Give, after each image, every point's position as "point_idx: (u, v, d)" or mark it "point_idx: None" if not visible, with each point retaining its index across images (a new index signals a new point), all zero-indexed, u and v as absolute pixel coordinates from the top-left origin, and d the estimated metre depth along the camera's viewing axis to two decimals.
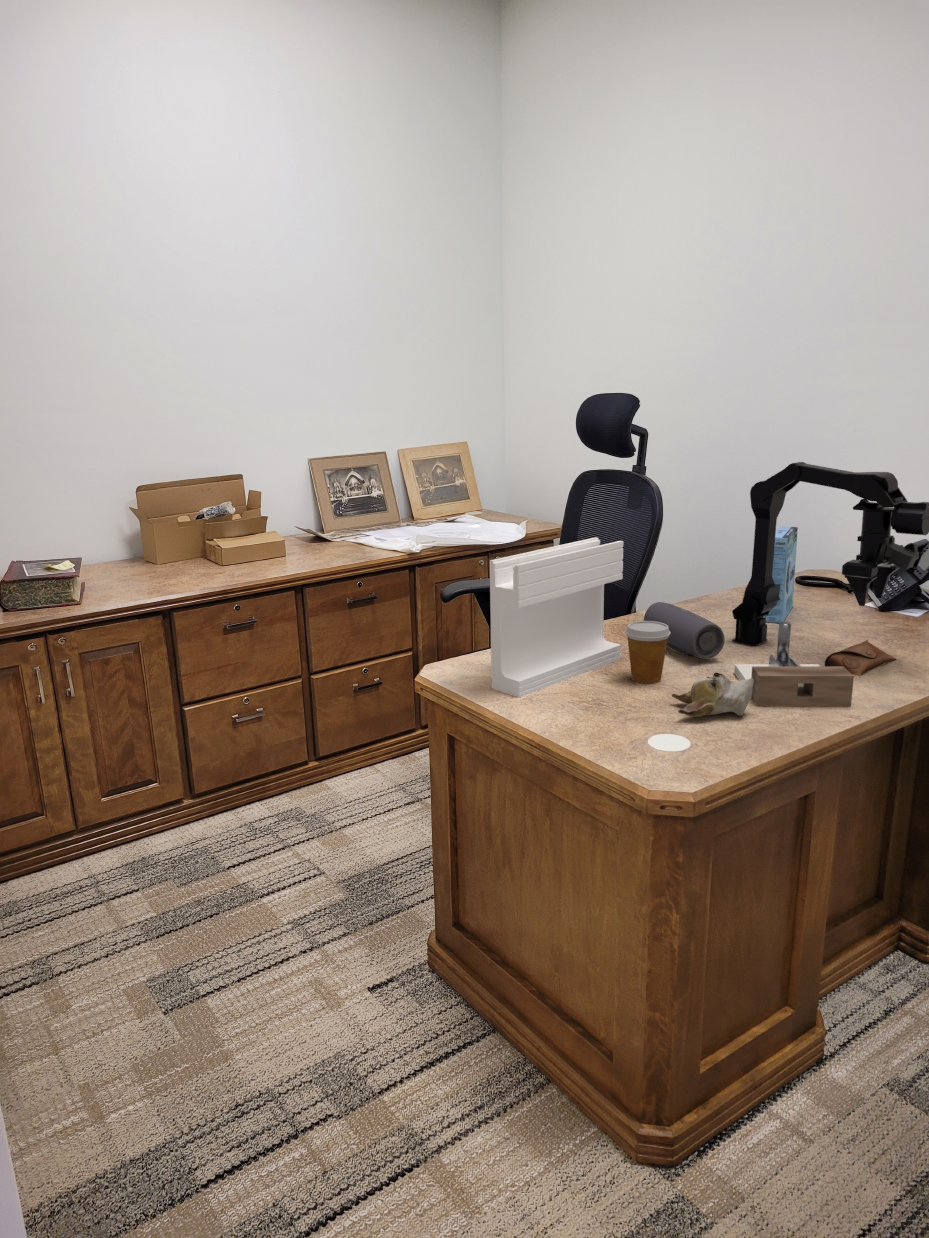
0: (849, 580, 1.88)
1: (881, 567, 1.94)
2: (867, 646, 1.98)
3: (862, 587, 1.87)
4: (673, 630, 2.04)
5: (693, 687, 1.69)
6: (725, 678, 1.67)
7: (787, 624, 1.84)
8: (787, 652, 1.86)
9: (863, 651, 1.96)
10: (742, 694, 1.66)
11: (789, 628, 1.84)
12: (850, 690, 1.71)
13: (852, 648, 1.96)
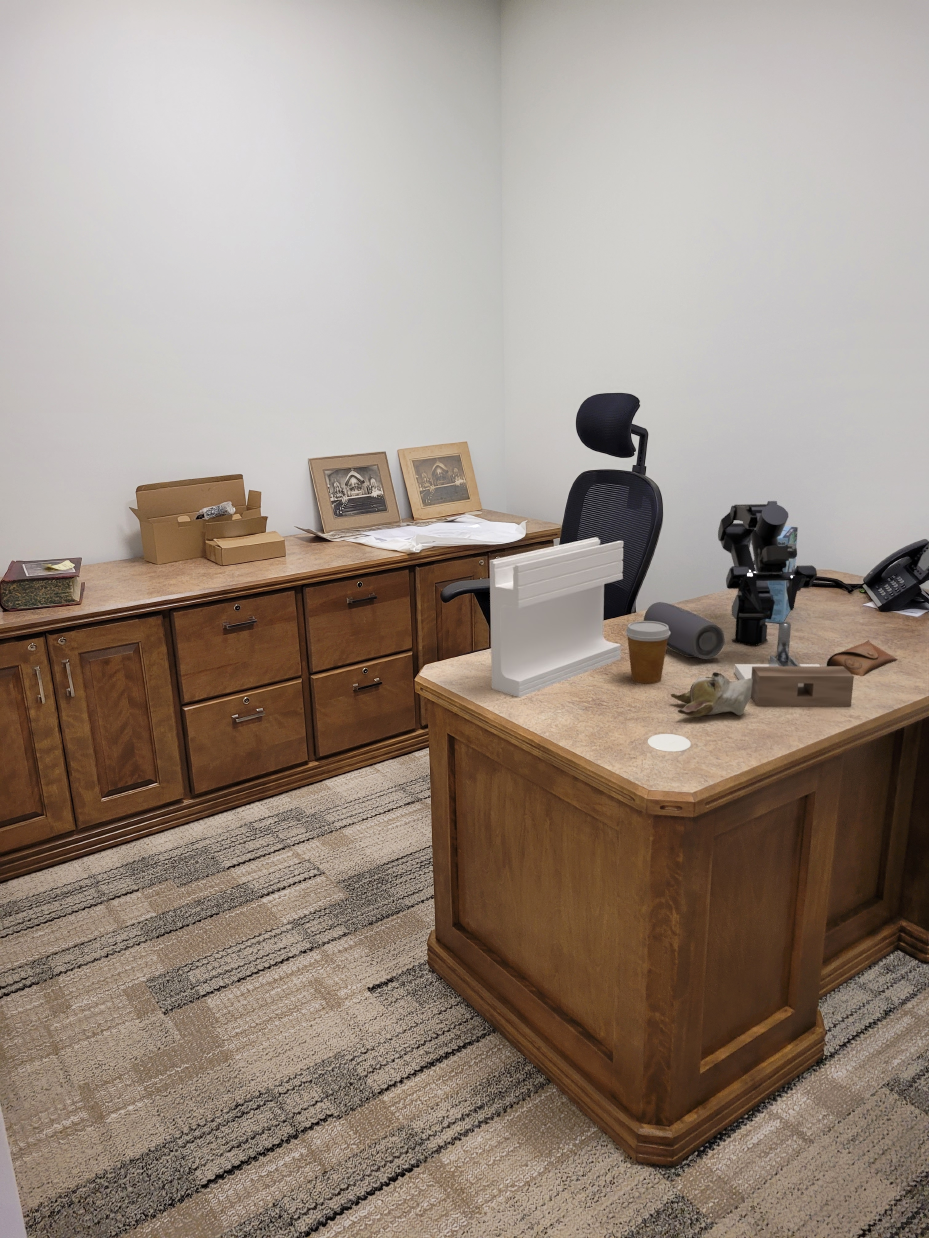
0: (745, 593, 1.97)
1: None
2: (869, 646, 1.98)
3: (752, 592, 1.94)
4: (673, 630, 2.04)
5: (692, 687, 1.69)
6: (724, 678, 1.67)
7: (787, 624, 1.84)
8: (787, 652, 1.86)
9: (865, 651, 1.95)
10: (742, 693, 1.66)
11: (789, 628, 1.84)
12: (850, 690, 1.71)
13: (854, 649, 1.96)
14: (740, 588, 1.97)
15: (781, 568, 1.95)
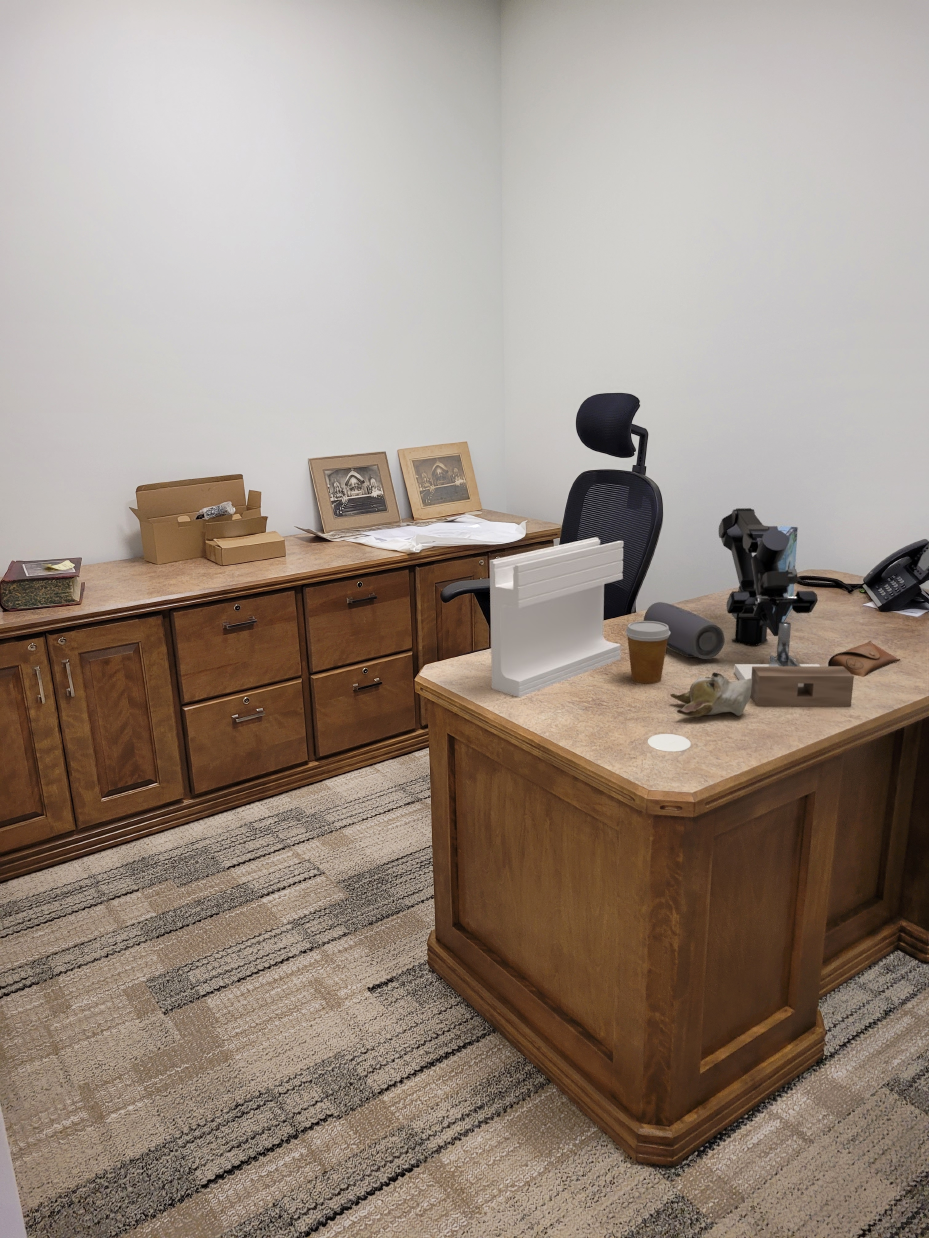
0: (760, 617, 1.97)
1: None
2: (871, 647, 1.97)
3: (767, 617, 1.94)
4: (673, 630, 2.04)
5: (692, 687, 1.69)
6: (724, 678, 1.67)
7: (787, 624, 1.84)
8: (787, 652, 1.86)
9: (867, 652, 1.95)
10: (741, 694, 1.66)
11: (789, 628, 1.84)
12: (850, 690, 1.71)
13: (856, 649, 1.96)
14: (755, 613, 1.96)
15: (782, 593, 1.94)
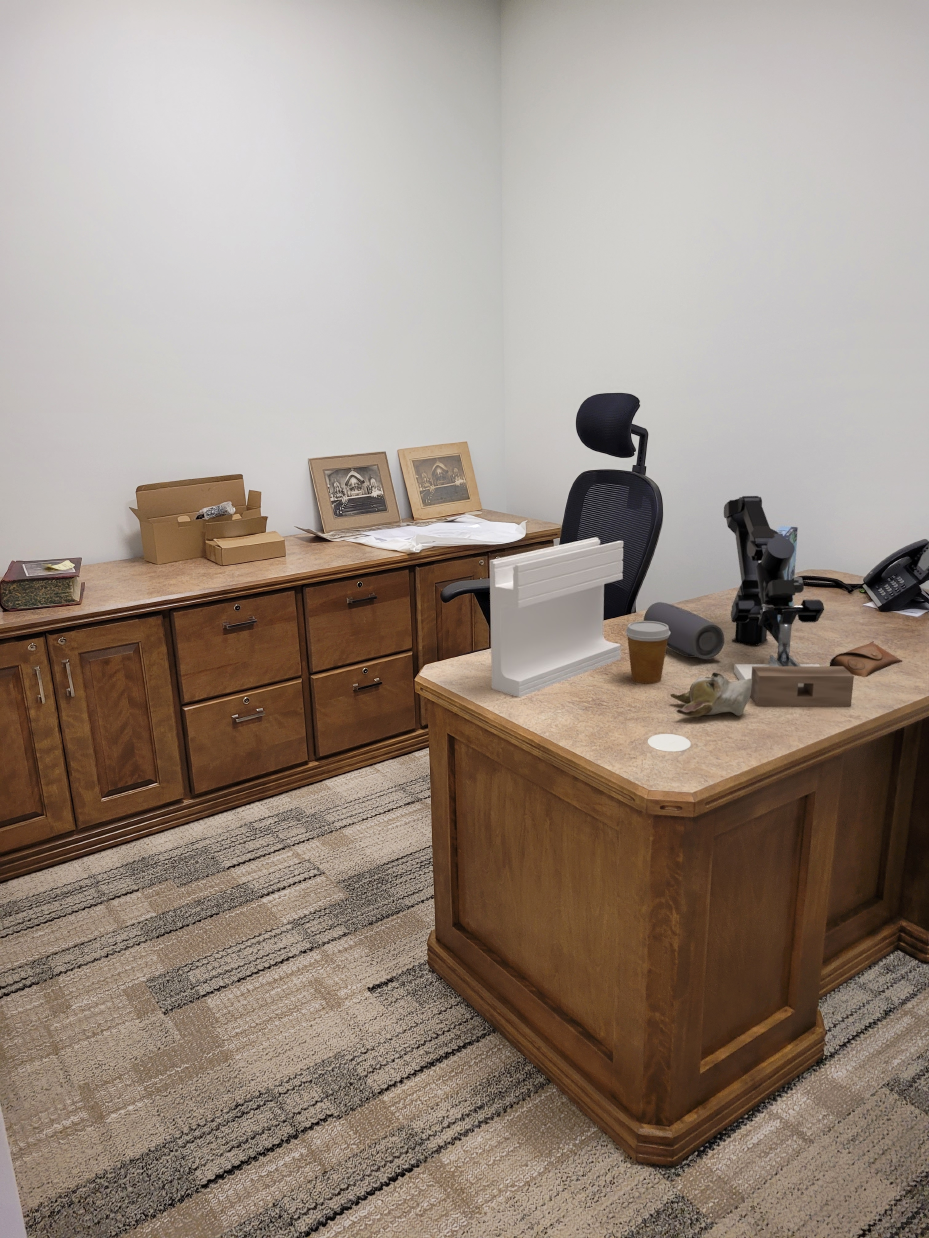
0: (765, 627, 1.92)
1: None
2: (873, 647, 1.97)
3: (773, 627, 1.89)
4: (673, 630, 2.04)
5: (691, 687, 1.69)
6: (723, 678, 1.67)
7: (788, 625, 1.84)
8: (788, 653, 1.85)
9: (869, 652, 1.95)
10: (741, 694, 1.66)
11: (790, 629, 1.84)
12: (850, 690, 1.71)
13: (858, 649, 1.95)
14: (760, 622, 1.92)
15: (787, 602, 1.90)
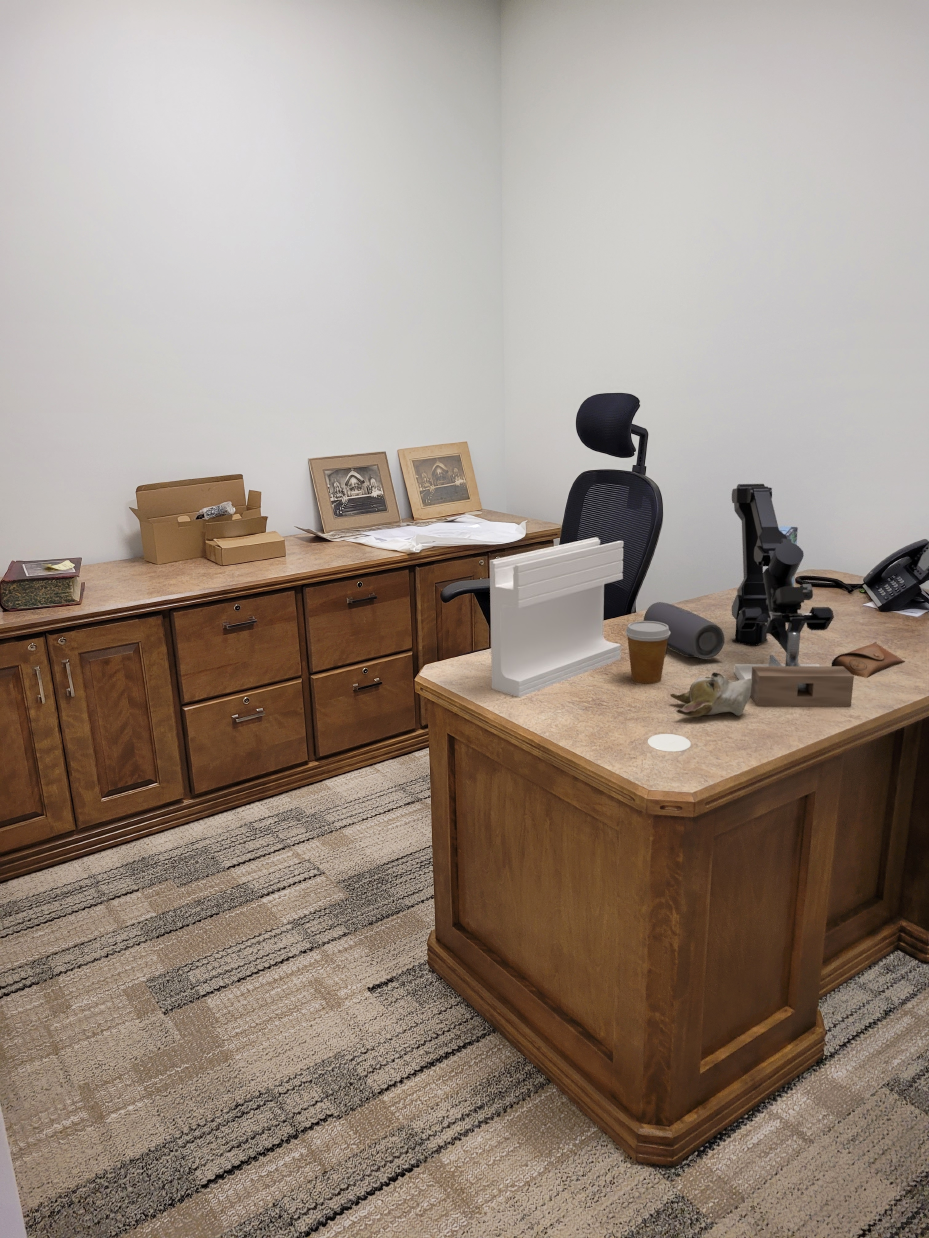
0: (773, 635, 1.86)
1: None
2: (875, 648, 1.97)
3: (781, 635, 1.83)
4: (673, 630, 2.04)
5: (691, 687, 1.69)
6: (723, 678, 1.67)
7: (796, 633, 1.78)
8: (796, 662, 1.79)
9: (871, 653, 1.94)
10: (741, 694, 1.66)
11: (798, 637, 1.78)
12: (850, 690, 1.71)
13: (860, 650, 1.95)
14: (768, 630, 1.86)
15: (796, 610, 1.84)
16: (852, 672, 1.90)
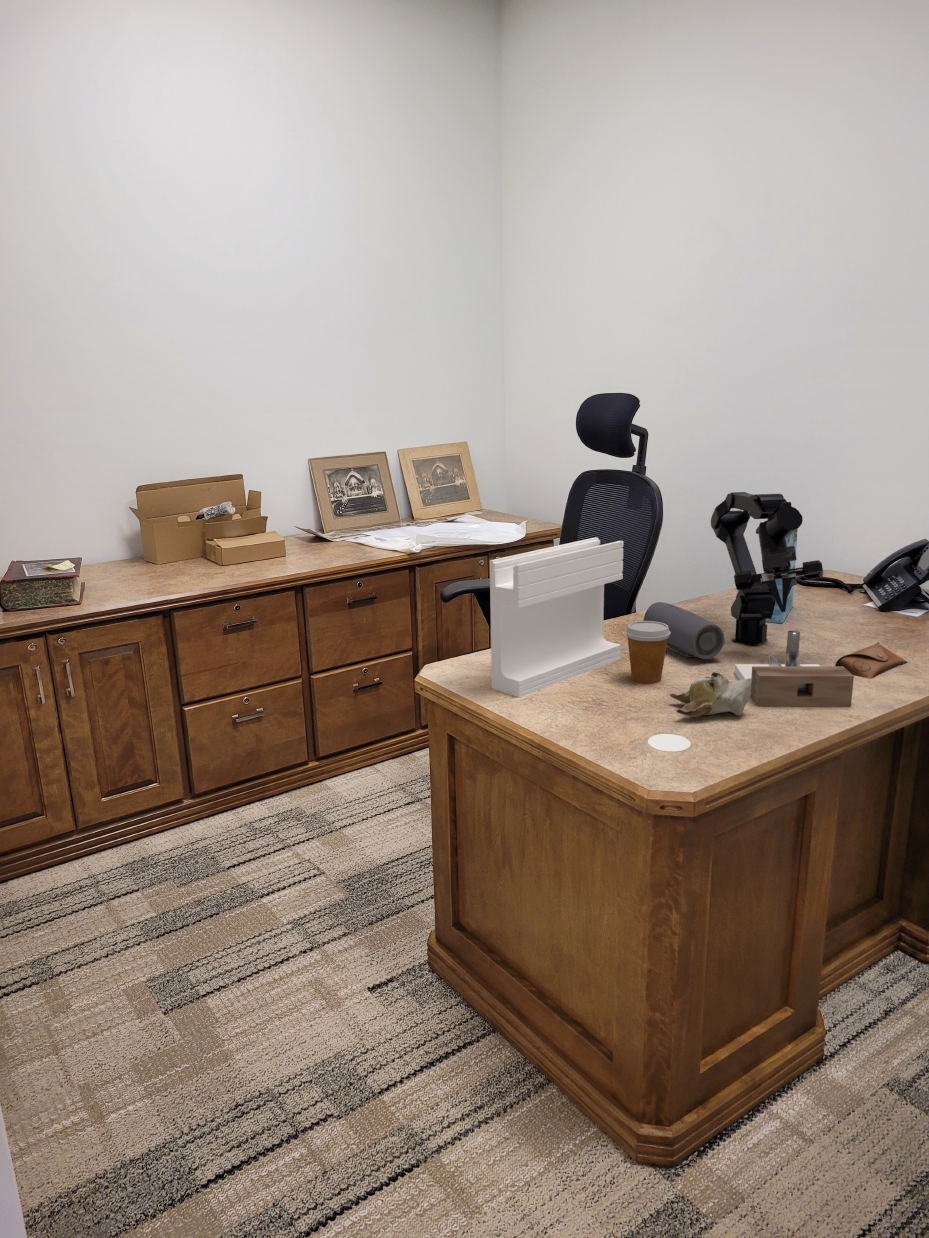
0: (770, 591, 1.99)
1: None
2: (879, 649, 1.96)
3: None
4: (673, 630, 2.04)
5: (691, 687, 1.69)
6: (723, 678, 1.67)
7: (796, 633, 1.78)
8: (796, 661, 1.79)
9: (875, 654, 1.94)
10: (740, 693, 1.66)
11: (798, 637, 1.78)
12: (850, 690, 1.71)
13: (863, 651, 1.94)
14: (764, 588, 1.99)
15: (786, 567, 1.95)
16: (856, 673, 1.89)
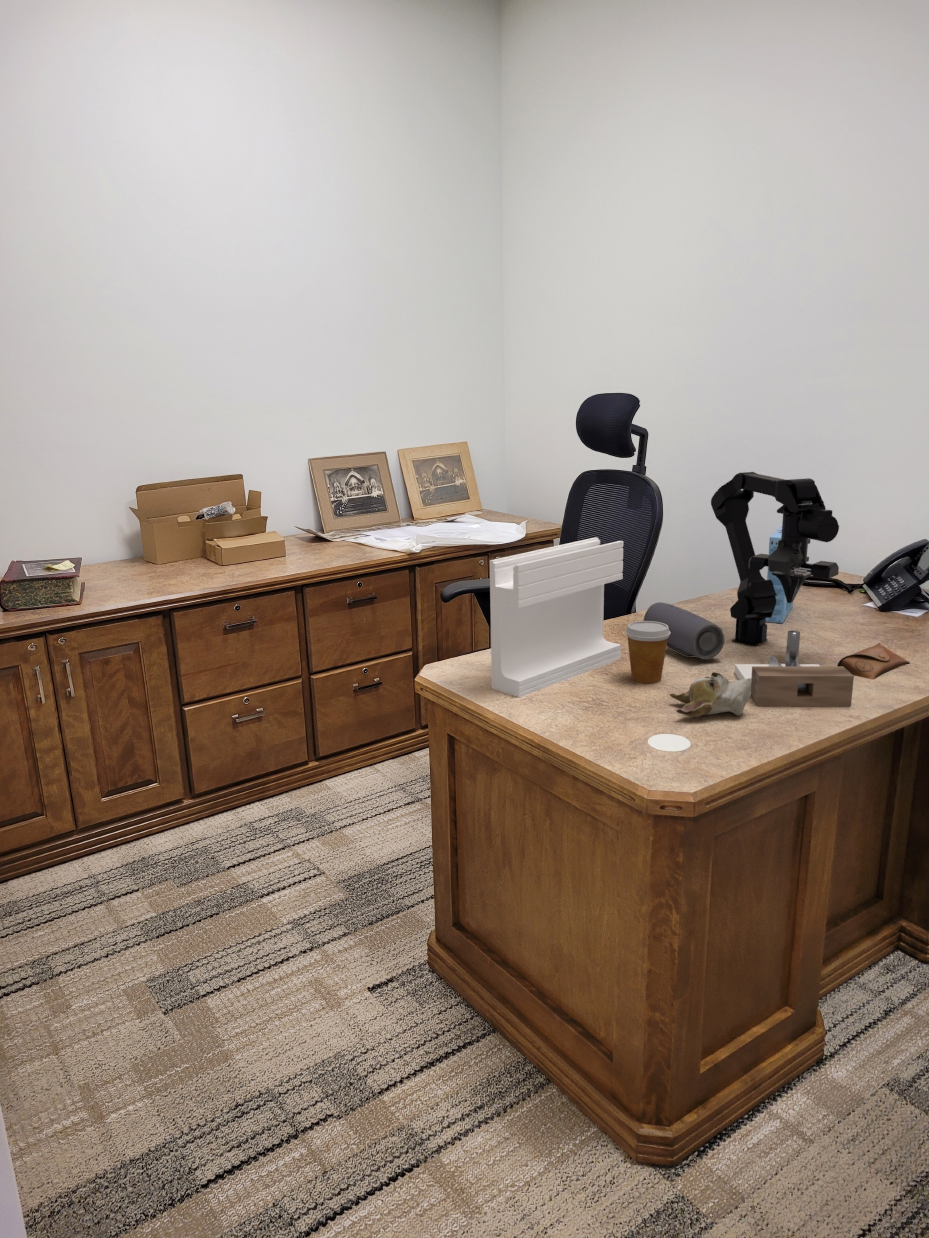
0: None
1: None
2: (880, 649, 1.96)
3: None
4: (673, 630, 2.04)
5: (691, 687, 1.69)
6: (723, 678, 1.67)
7: (796, 633, 1.78)
8: (796, 661, 1.79)
9: (876, 654, 1.93)
10: (740, 693, 1.66)
11: (798, 637, 1.78)
12: (850, 690, 1.71)
13: (865, 651, 1.94)
14: None
15: None
16: (858, 674, 1.89)
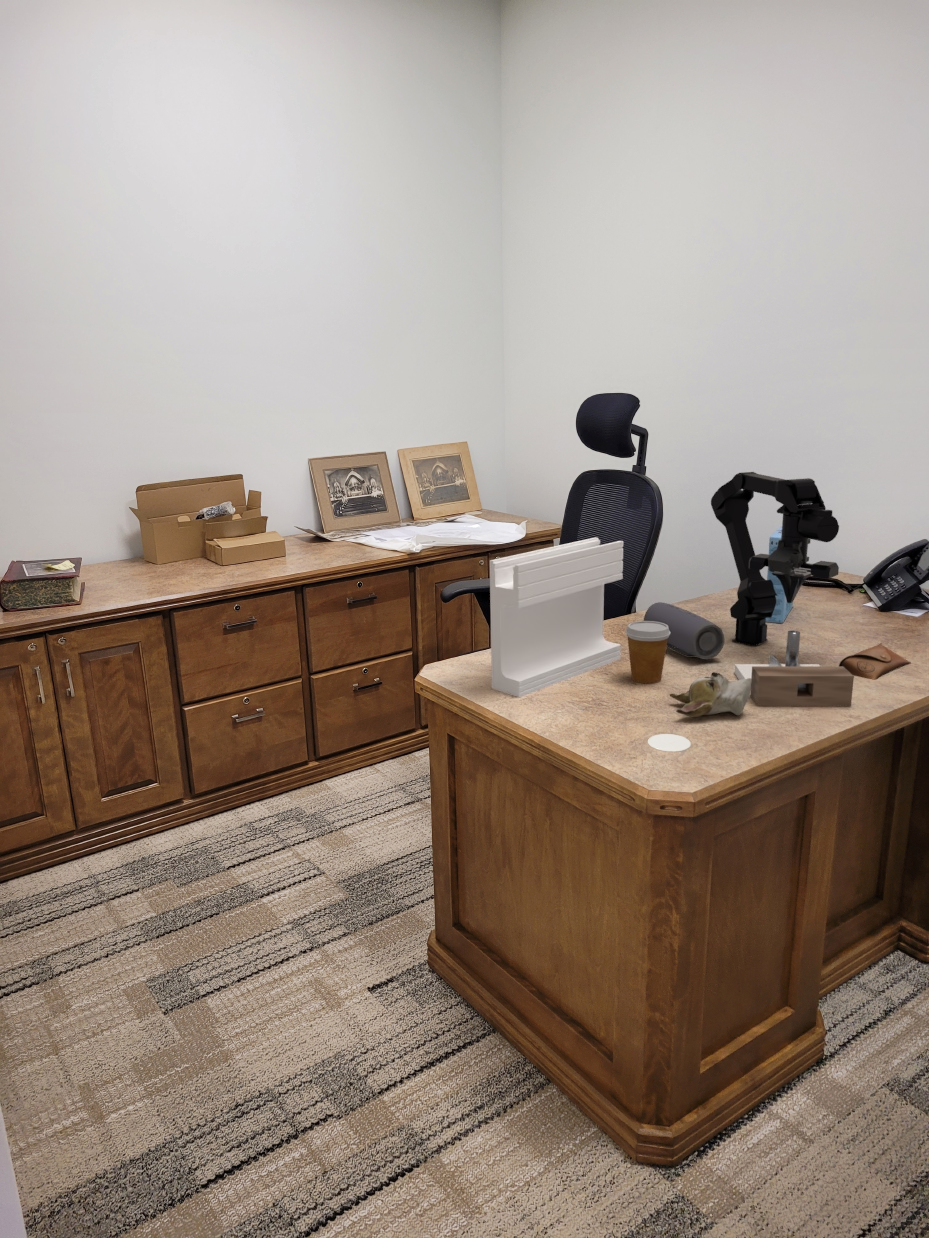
0: None
1: None
2: (882, 649, 1.95)
3: None
4: (673, 630, 2.04)
5: (691, 687, 1.69)
6: (723, 678, 1.67)
7: (796, 633, 1.78)
8: (796, 661, 1.79)
9: (878, 654, 1.93)
10: (740, 693, 1.66)
11: (798, 637, 1.78)
12: (850, 690, 1.71)
13: (866, 651, 1.93)
14: None
15: None
16: (860, 674, 1.88)
